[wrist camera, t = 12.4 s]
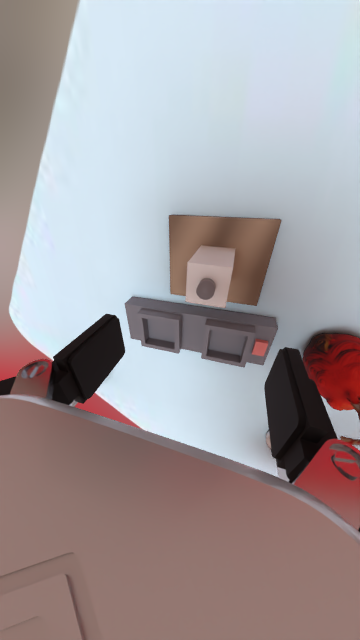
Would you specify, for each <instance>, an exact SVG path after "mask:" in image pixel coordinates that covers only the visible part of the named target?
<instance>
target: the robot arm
mask: <svg viewBox="0 0 360 640" xmlns="http://www.w3.org/2000/svg"><path fill="white" fill-rule="evenodd" d="M124 353H125V347H124V342H123V337H122V332H121V327H120V322H119V319H118V318H117V317H116V316H115V315H110V314H105V315H104V316H103V317H102V318H100V319H99V320H98V321H97V322H95V323H94V324H93V325H92V326H91V327H89V328H88V329H87V330H86V331H84V332H83V333H82V334H81V335H79V336H78V337H77V338H76V339H75V340H73V341H72V342H71V343H70V344H68V345H67V346H66V347H65V348H64V349H62V350H61V351H60V352H59V353H57V354H56V355H55V356H54V357H53V358H54V361H53V362H51V361H50V360H48V359H39V360H35V361H32V362H30V363H29V364H27V365H25V366H24V367H22V369H20V370H19V372H18V374H17V376H16V377H12V378H9V379H6V380H2V381H0V640H360V451H359V450H358V449H357V448H355V447H354V446H352V445H351V444H349V443H347V442H345V441H343V440H339V439H337V436H336V434H335V431H334V429H333V426H332V424H331V421H330V418H329V416H328V413H327V411H326V408H325V406H324V403H323V401H322V398H321V396H320V393H319V391H318V388H317V386H316V383H315V382H314V380H312V379H309V377H308V374H307V371H306V369H305V366H304V363H303V360H302V358H301V355H300V352H299V350H298V349H293V348H287V347H285V348H284V349H280V350H279V352H278V354H277V357H276V359H275V361H274V364H273V366H272V368H271V371H270V373H269V375H268V378H267V380H266V382H265V398H266V407H267V416H268V425H269V431H268V432H267V434H266V443H267V445H268V446H269V448H270V449H271V452H272V457H273V458H276V462H277V470H278V477H279V478H278V477H275V476H273V475H271V474H268V473H266V472H263V471H261V470H258V469H255V468H252V467H249V466H247V465H244V464H241V463H238V462H236V461H233V460H230V459H227V458H224V457H221V456H219V455H216V454H213V453H210V452H207V451H204V450H201V449H198V448H195V447H192V446H189V445H186V444H183V443H180V442H177V441H175V440H172V439H169V438H166V437H163V436H160V435H157V434H154V433H151V432H148V431H145V430H142V429H139V428H136V427H133V426H130V425H127V424H124V423H121V422H118V421H115V420H112V419H108V418H106V417H103V416H100V415H97V414H94V413H91V412H88V411H85V410H81V409H78V408H76V407H72V402H73V401H74V400H75V401H76V402H79V403H84V402H85V401H86V400H87V399H89V398H90V397H91V396H92V395H93V394H94V393H95V391H96V390H97V389H98V387H99V386H100V385H101V384H102V382H103V381H104V380H105V379H106V377H107V376H108V375H109V373H110V372H111V371H112V370H113V368H114V367H115V366H116V364H117V363H118V362H119V361H120V359H121V358H122V357H123V355H124Z"/></svg>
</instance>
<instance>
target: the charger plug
mask: <svg viewBox="0 0 360 640" xmlns="http://www.w3.org/2000/svg"><path fill="white" fill-rule="evenodd" d="M234 256H235V249H234V248H223V247H212V246H202V245H201V246H200V248H199V249H198V250H197V251H196V253H195V254H194V255H193V256H192V258H191V259H190V260H189V261H188V262H187V282H186V301H185V302H190V303H197V304H203V305H209V306H215V307H222V308H225V307H226V301H227V296H228V291H229V286H230V281H231V276H232V271H233V265H234Z"/></svg>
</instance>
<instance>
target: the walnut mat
mask: <svg viewBox="0 0 360 640" xmlns="http://www.w3.org/2000/svg"><path fill="white" fill-rule="evenodd" d="M280 223H281V220H280V219H262V218H237V217H212V216H187V215H169V241H170V292H171V294H175V295H182V296H186V282H187V262H188V261H189V260H190V259H191V258H192V256H193V255H194V254H195V253H196V251H197V250H198V249H199V248H200V246H201V245H202V246H212V247H223V248H234V249H235V256H234V265H233V271H232V276H231V281H230V286H229V291H228V296H227V301H226V302H233V303H240V304H247V305H254V306H257V303H258V299H259V296H260V292H261V289H262V286H263V282H264V279H265V275H266V272H267V268H268V265H269V261H270V258H271V254H272V251H273V248H274V244H275V241H276V237H277V234H278V230H279V227H280Z"/></svg>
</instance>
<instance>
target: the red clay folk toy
mask: <svg viewBox="0 0 360 640" xmlns="http://www.w3.org/2000/svg"><path fill="white" fill-rule="evenodd" d="M302 359H303V363H304V366H305V369H306V371H307V374H308V377H309V379H312V380H314V382H315V383H316V386H317V388H318V391H319V393H320V395H321V396H322V397H324V398H325V399H326V400H327V402H328V404H329V405H330V406H331V407H332V408H334V409H336V410H340V411H341V410H352V409H355V410H356V411H357V413H358V416H359V420H360V338H358V337H355V336H352V335H348V334H338V333H334V334H327V333H322V334H320V335H317V336H315V337H313V338H312V339H311V343H310V344H309V345H308V347H307V348H306V350H305V351H304V354H303V358H302ZM340 438H341V440H343V441H345V442H347V443H349V444H351V445H360V440H355V439H352V438H346V437H343V436H341V437H340Z"/></svg>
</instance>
